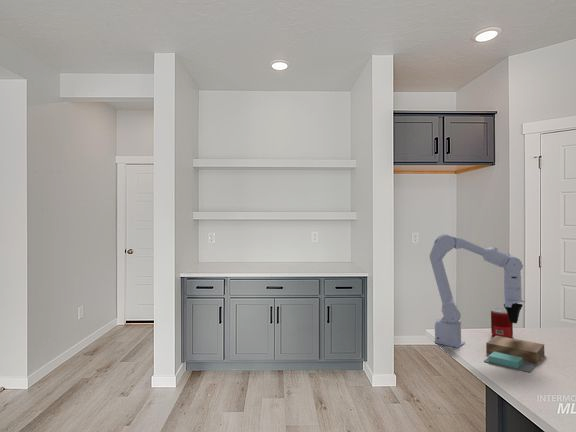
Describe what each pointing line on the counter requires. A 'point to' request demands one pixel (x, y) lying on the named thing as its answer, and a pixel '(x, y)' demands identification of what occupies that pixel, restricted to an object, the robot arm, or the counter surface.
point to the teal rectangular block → (505, 359)
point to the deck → (516, 348)
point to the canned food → (501, 323)
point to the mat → (524, 367)
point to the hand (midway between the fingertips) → (513, 322)
